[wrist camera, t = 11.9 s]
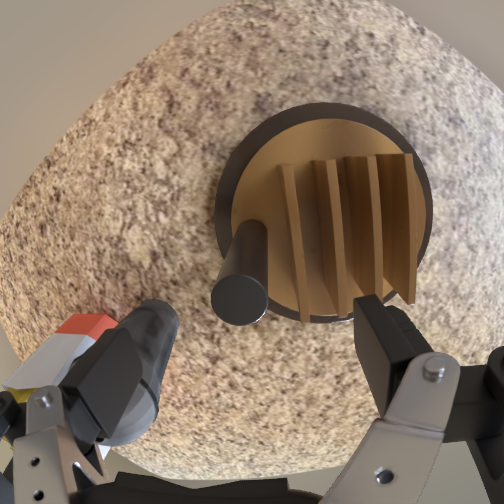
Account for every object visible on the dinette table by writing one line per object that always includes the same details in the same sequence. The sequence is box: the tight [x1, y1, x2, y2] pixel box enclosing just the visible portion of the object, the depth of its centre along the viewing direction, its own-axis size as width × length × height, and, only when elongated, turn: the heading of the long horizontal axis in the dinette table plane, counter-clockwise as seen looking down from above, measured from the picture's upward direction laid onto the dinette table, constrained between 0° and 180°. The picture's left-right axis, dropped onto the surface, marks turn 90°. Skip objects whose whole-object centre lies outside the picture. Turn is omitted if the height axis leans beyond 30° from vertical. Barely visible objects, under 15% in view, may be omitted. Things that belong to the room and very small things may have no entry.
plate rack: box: [211, 119, 426, 326], centre depth 18 cm, size 16×16×12 cm
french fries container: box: [2, 314, 119, 460], centre depth 22 cm, size 5×11×18 cm, turn 6°
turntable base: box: [214, 102, 433, 324], centre depth 25 cm, size 19×19×2 cm
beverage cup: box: [68, 299, 179, 447], centre depth 20 cm, size 7×7×20 cm
